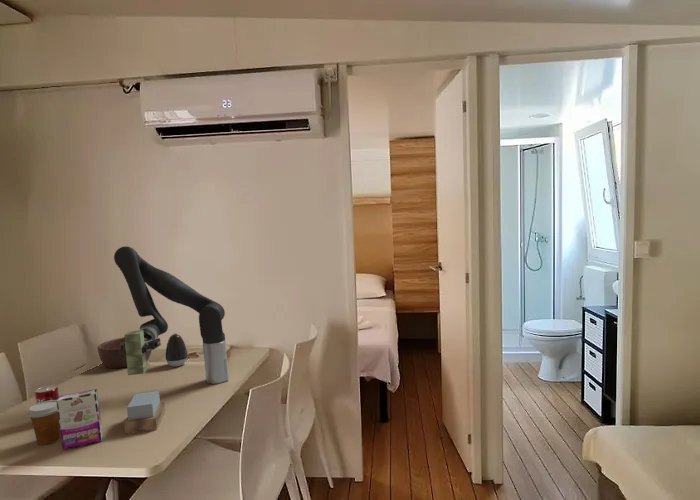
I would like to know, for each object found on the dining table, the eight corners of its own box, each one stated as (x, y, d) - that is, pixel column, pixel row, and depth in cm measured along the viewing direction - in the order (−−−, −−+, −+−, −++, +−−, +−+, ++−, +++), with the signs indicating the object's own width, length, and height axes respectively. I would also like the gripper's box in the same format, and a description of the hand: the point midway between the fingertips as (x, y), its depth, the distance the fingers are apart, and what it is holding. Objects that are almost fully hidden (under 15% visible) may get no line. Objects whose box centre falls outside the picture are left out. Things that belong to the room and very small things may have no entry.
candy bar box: (103, 435, 159) (97, 387, 158) (101, 442, 155) (96, 392, 153) (64, 444, 155) (58, 394, 154) (62, 450, 150) (56, 400, 149)
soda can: (50, 425, 170) (46, 392, 169) (33, 424, 172) (29, 392, 170) (66, 416, 177) (62, 385, 176) (49, 415, 179) (45, 384, 178)
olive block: (146, 368, 169) (143, 330, 168) (143, 373, 165) (140, 333, 163) (131, 370, 168) (128, 331, 167) (128, 375, 164) (124, 335, 162)
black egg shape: (188, 360, 238) (186, 330, 236) (188, 366, 228) (185, 335, 226) (166, 363, 235) (163, 333, 233) (165, 369, 225) (162, 338, 223)
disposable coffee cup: (35, 438, 161) (30, 403, 160) (67, 431, 164) (63, 397, 163) (28, 450, 152) (24, 414, 151) (63, 443, 156) (59, 407, 155)
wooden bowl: (164, 357, 245) (162, 338, 244) (118, 373, 224) (116, 352, 223) (135, 352, 258) (133, 333, 257) (89, 366, 237) (86, 346, 236)
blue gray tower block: (160, 403, 174) (158, 391, 174) (153, 416, 162) (152, 403, 162) (136, 406, 172) (135, 394, 172) (128, 420, 161) (126, 407, 160)
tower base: (165, 413, 176) (164, 401, 176) (157, 431, 161) (155, 418, 161) (136, 416, 174) (135, 404, 174) (125, 435, 160) (123, 422, 159)
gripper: (123, 330, 179) (110, 342, 162) (164, 326, 181) (155, 338, 165) (125, 350, 179) (112, 364, 163) (166, 346, 182) (157, 359, 165)
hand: (134, 351), depth 164 cm, fingers closed on olive block, 5 cm apart
